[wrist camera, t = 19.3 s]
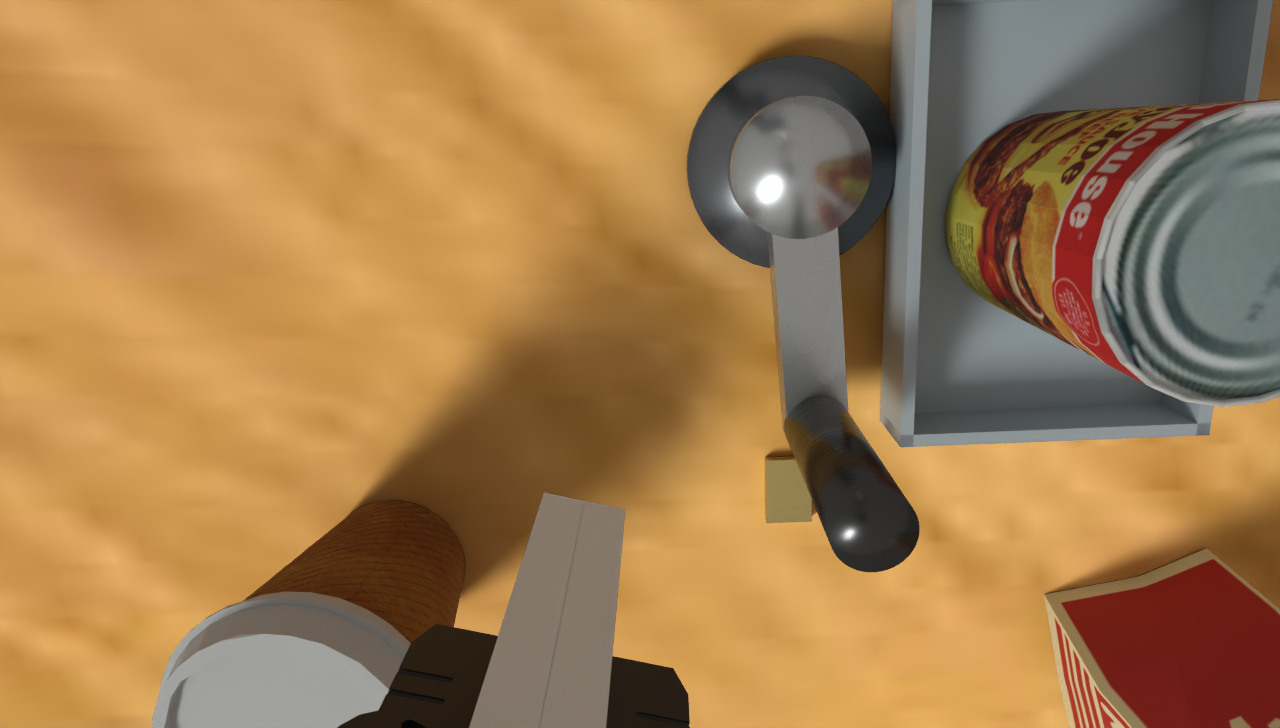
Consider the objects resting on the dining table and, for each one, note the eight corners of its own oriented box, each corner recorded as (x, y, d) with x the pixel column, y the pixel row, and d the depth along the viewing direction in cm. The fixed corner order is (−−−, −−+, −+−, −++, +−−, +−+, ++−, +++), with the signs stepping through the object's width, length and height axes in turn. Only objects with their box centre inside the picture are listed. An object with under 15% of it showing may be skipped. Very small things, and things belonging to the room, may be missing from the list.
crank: (721, 106, 31) (751, 94, 21) (855, 89, 30) (952, 69, 20) (752, 448, 34) (791, 580, 24) (872, 435, 34) (962, 563, 24)
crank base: (683, 64, 32) (683, 61, 31) (891, 52, 31) (900, 49, 30) (690, 269, 34) (691, 274, 33) (884, 260, 34) (893, 264, 32)
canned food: (1130, 84, 31) (1408, 55, 19) (1158, 281, 33) (1425, 361, 21) (924, 147, 32) (1073, 155, 20) (963, 335, 34) (1119, 441, 22)
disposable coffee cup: (488, 461, 36) (409, 613, 25) (510, 646, 39) (448, 862, 28) (278, 471, 37) (105, 626, 25) (314, 654, 39) (171, 870, 28)
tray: (892, -4, 31) (918, -19, 28) (1218, -23, 30) (1279, -40, 27) (880, 420, 36) (900, 446, 33) (1162, 409, 35) (1209, 435, 32)
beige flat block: (764, 457, 36) (765, 460, 36) (810, 455, 36) (812, 459, 36) (765, 518, 37) (766, 522, 37) (809, 517, 37) (811, 521, 36)
